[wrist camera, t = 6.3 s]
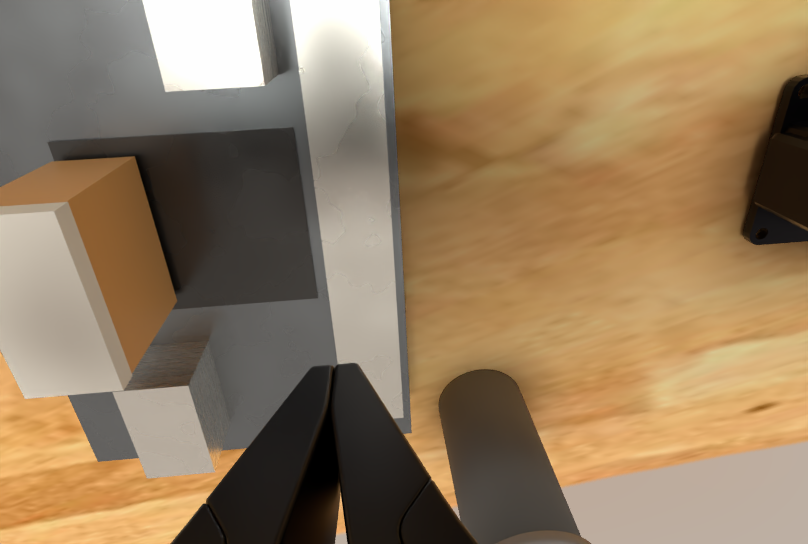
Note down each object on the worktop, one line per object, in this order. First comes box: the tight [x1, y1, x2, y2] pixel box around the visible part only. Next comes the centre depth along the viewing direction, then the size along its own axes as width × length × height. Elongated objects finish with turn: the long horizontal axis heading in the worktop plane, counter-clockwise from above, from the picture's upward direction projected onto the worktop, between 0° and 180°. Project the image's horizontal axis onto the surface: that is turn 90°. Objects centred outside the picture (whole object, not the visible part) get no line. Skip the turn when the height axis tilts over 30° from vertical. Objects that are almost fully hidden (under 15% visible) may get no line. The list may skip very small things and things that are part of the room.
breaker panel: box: [0, 0, 411, 478], centre depth 17 cm, size 13×20×5 cm, turn 3°
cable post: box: [439, 370, 591, 544], centre depth 20 cm, size 5×5×9 cm
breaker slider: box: [0, 156, 177, 399], centre depth 14 cm, size 2×5×5 cm, turn 3°
